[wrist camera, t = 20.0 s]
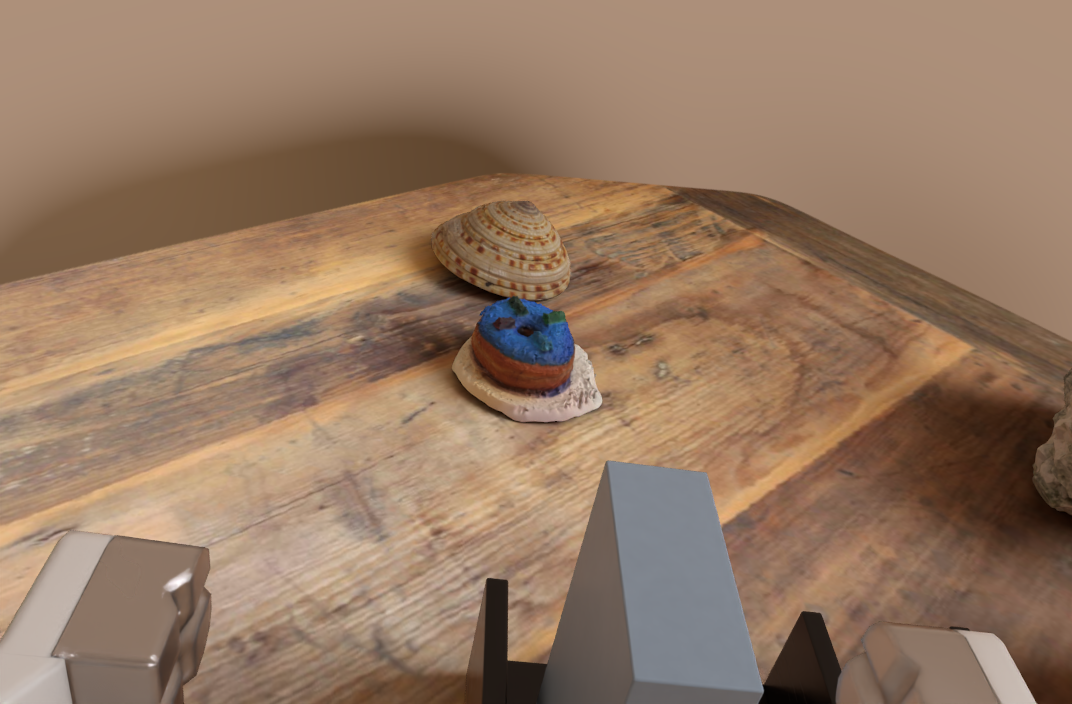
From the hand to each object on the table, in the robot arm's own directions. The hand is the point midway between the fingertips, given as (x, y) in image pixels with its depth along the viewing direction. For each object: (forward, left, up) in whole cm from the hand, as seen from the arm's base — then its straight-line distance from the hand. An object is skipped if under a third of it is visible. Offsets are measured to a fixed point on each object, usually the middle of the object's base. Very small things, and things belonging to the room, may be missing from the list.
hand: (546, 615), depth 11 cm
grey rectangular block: (+2, +7, -17) cm, 18 cm away
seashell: (-11, +39, -18) cm, 45 cm away
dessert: (-6, +29, -18) cm, 35 cm away
